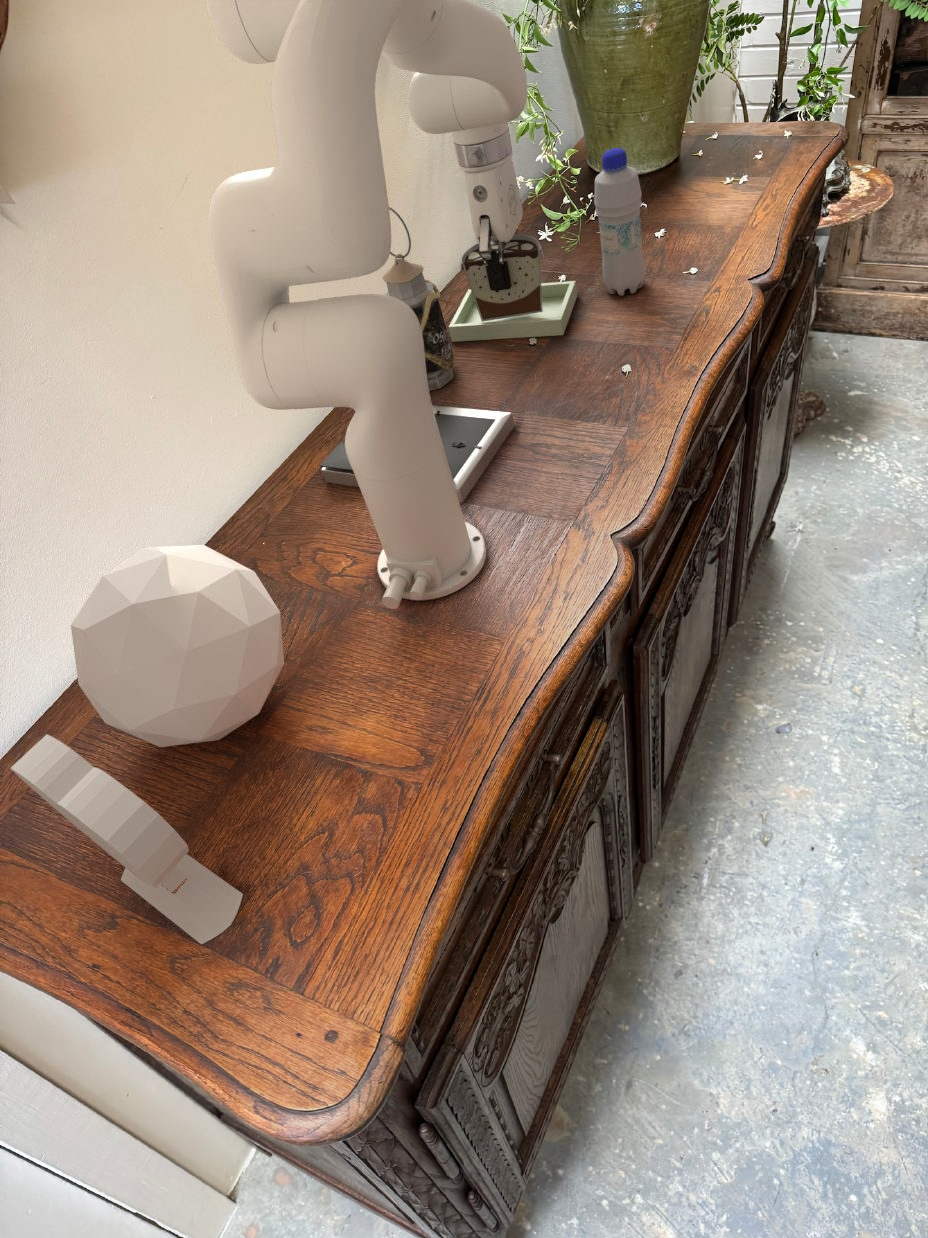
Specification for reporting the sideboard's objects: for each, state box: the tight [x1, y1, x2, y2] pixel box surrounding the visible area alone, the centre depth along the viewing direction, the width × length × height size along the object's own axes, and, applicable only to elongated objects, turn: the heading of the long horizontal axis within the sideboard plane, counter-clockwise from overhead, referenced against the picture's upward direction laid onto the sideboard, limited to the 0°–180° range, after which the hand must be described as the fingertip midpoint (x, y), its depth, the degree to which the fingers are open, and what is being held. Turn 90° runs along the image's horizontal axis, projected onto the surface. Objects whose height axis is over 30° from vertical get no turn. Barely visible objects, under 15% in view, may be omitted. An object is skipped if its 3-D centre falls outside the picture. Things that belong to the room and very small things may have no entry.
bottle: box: [593, 147, 646, 297], centre depth 122 cm, size 7×7×20 cm
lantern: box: [382, 206, 455, 392], centre depth 114 cm, size 9×8×25 cm
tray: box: [448, 280, 578, 343], centre depth 129 cm, size 12×18×2 cm, turn 74°
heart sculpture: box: [9, 733, 244, 945], centre depth 67 cm, size 16×5×18 cm, turn 55°
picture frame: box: [318, 405, 515, 504], centre depth 110 cm, size 16×3×21 cm
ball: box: [70, 544, 285, 748], centre depth 81 cm, size 19×20×20 cm
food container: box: [460, 233, 545, 322], centre depth 125 cm, size 12×6×10 cm, turn 84°
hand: (506, 275), depth 125 cm, fingers closed on food container, 6 cm apart
